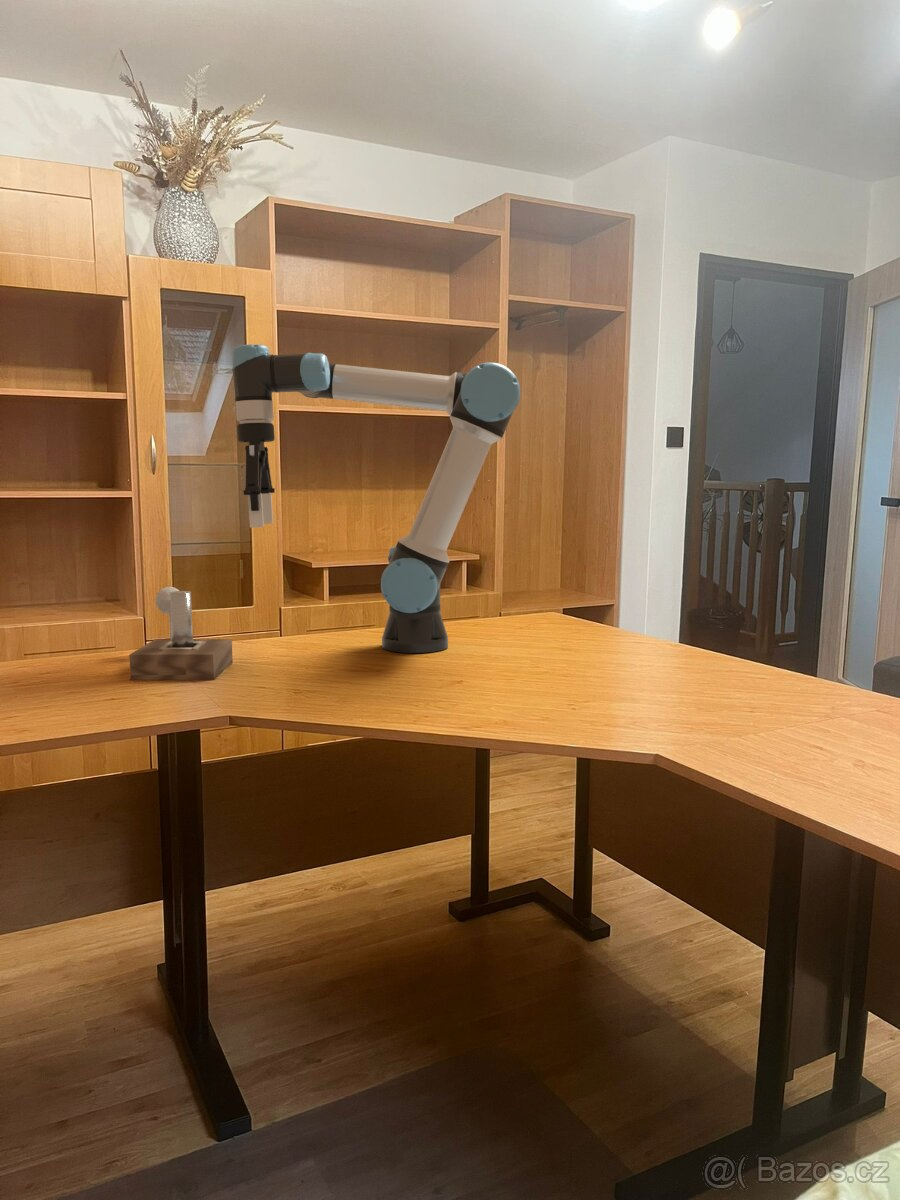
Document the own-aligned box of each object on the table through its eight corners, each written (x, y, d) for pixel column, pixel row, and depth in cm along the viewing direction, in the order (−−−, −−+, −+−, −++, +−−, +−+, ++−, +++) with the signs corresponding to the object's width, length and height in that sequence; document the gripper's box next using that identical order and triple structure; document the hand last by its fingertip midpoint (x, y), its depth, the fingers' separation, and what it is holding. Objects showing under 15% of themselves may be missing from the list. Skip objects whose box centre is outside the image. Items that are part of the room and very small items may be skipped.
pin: (196, 664, 183) (193, 590, 181) (190, 668, 179) (187, 593, 177) (176, 663, 183) (173, 590, 181) (170, 668, 179) (167, 593, 177)
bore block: (232, 662, 189) (231, 637, 188) (214, 679, 173) (213, 652, 173) (156, 662, 189) (155, 637, 188) (130, 680, 173) (129, 653, 172)
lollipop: (180, 657, 194) (177, 588, 192) (153, 657, 194) (150, 588, 192) (189, 652, 200) (186, 585, 198) (163, 652, 200) (160, 585, 198)
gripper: (247, 426, 198) (253, 522, 201) (225, 419, 174) (233, 529, 177) (281, 425, 199) (287, 521, 202) (264, 418, 174) (271, 528, 177)
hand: (262, 525), depth 189 cm, fingers open, 13 cm apart
